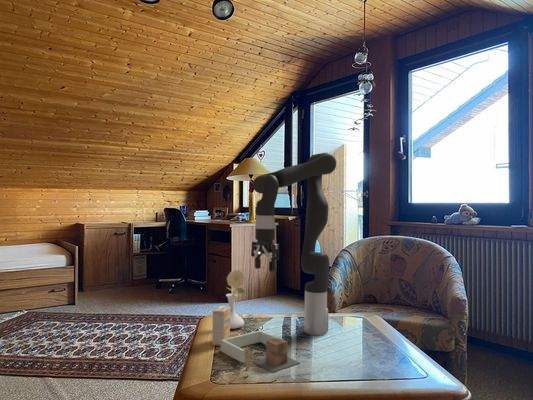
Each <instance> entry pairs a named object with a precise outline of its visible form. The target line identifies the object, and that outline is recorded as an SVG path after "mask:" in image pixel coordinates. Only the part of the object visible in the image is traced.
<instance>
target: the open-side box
mask: <svg viewBox="0 0 533 400" xmlns="http://www.w3.org/2000/svg"><path fill="white" fill-rule="evenodd" d="M275 338H278V337H277V336H275V335H272V334H269V333H268V332H265V331H263V330H258V331H253V332H252V331H251V332H248V333H244V334H240V335H236V336H230V338H227V339H223V340H221V346H220V352H221V353H224V354H226V355H227V356H229V357H231V358H232V359H234V360H236V361H238V362H240V363H242V364H243V363H246V350H245V349H244V348H242V347H246V346H250V345H254V344H257V343H261V344H263V345H265V346H266V341H267V340H271V339H275Z"/></svg>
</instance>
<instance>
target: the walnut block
mask: <svg viewBox="0 0 533 400" xmlns="http://www.w3.org/2000/svg"><path fill="white" fill-rule="evenodd" d="M265 347H266V353H265V358H266V362H268V363H270V364H272V365H274V366H279V365H282V364H285V363H287V357H288V341H287V340H285V339H282V338H279V337H277V338H275V339H271V340H267V341H266V345H265Z"/></svg>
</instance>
